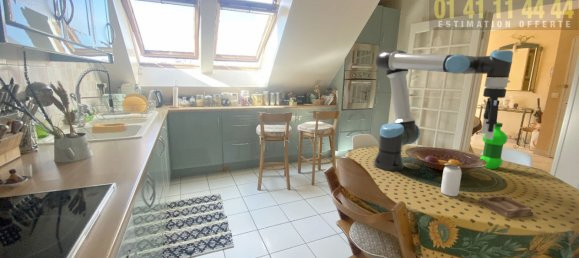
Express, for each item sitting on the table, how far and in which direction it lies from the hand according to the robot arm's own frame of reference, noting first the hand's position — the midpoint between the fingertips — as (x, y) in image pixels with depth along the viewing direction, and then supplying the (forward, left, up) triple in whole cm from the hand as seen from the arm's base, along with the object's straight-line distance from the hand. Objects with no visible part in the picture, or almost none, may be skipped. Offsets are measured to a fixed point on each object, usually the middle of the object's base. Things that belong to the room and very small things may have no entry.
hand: (486, 135), depth 115 cm
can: (-11, -19, -24) cm, 32 cm away
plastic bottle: (+6, +32, -23) cm, 40 cm away
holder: (+7, -22, -23) cm, 33 cm away
